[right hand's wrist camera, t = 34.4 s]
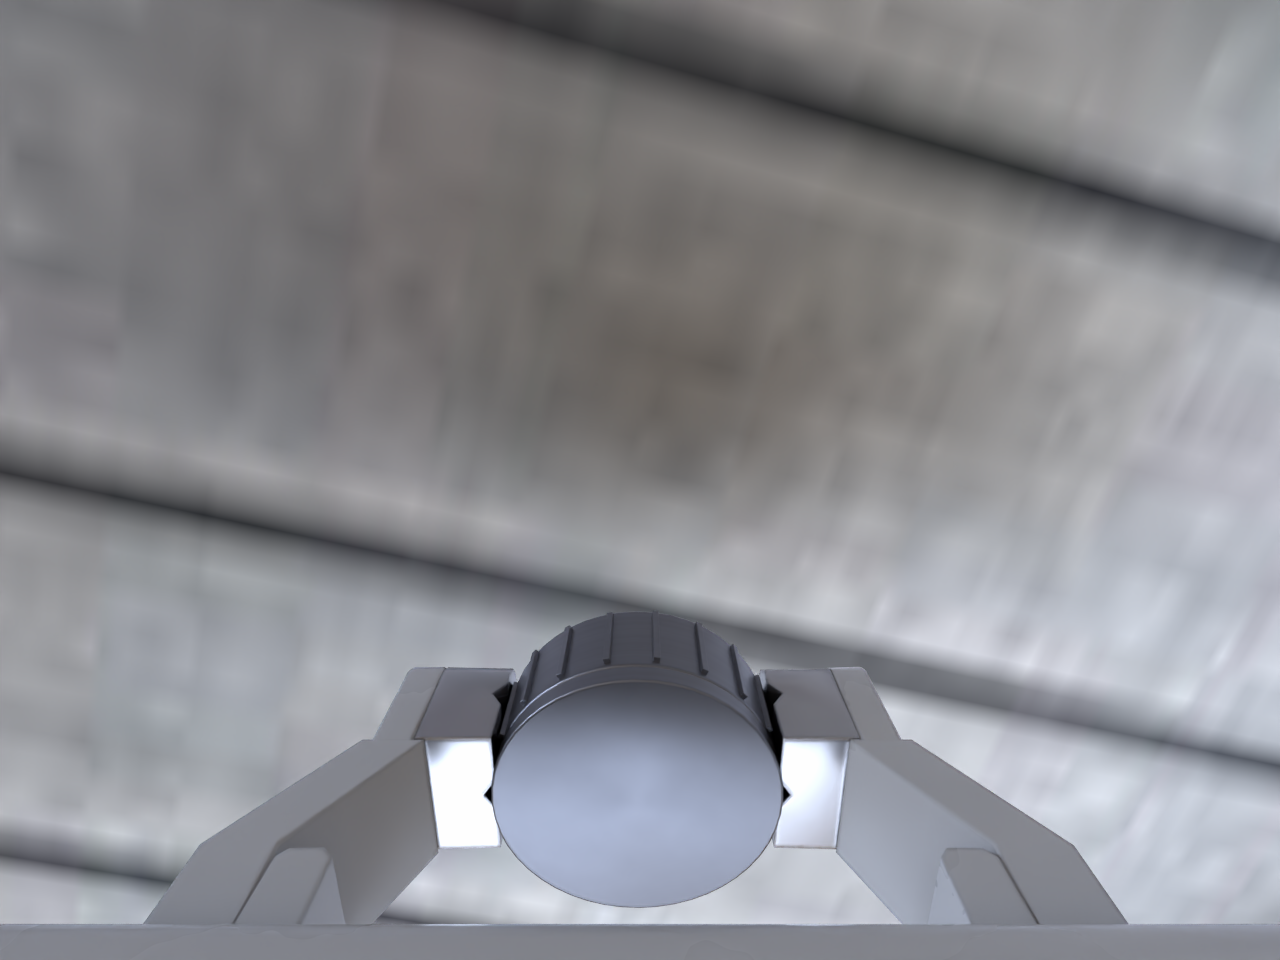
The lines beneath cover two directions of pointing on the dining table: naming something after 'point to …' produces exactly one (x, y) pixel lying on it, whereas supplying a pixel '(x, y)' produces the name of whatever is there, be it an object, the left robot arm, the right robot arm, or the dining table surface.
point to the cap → (637, 762)
